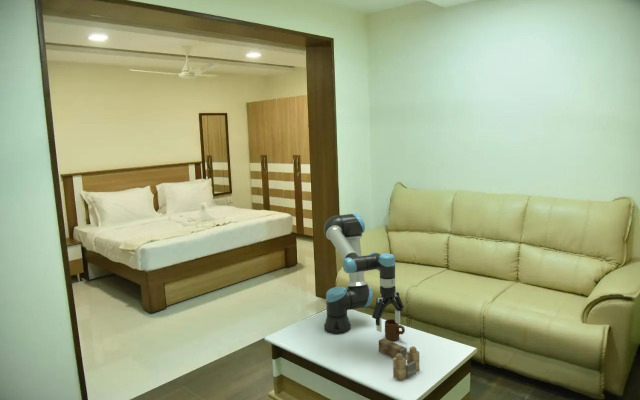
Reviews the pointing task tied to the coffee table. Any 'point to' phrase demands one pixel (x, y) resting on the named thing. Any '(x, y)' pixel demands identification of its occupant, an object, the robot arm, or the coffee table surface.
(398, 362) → the knobbed wooden twin blocks
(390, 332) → the mug
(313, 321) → the coffee table surface
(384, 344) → the rail
